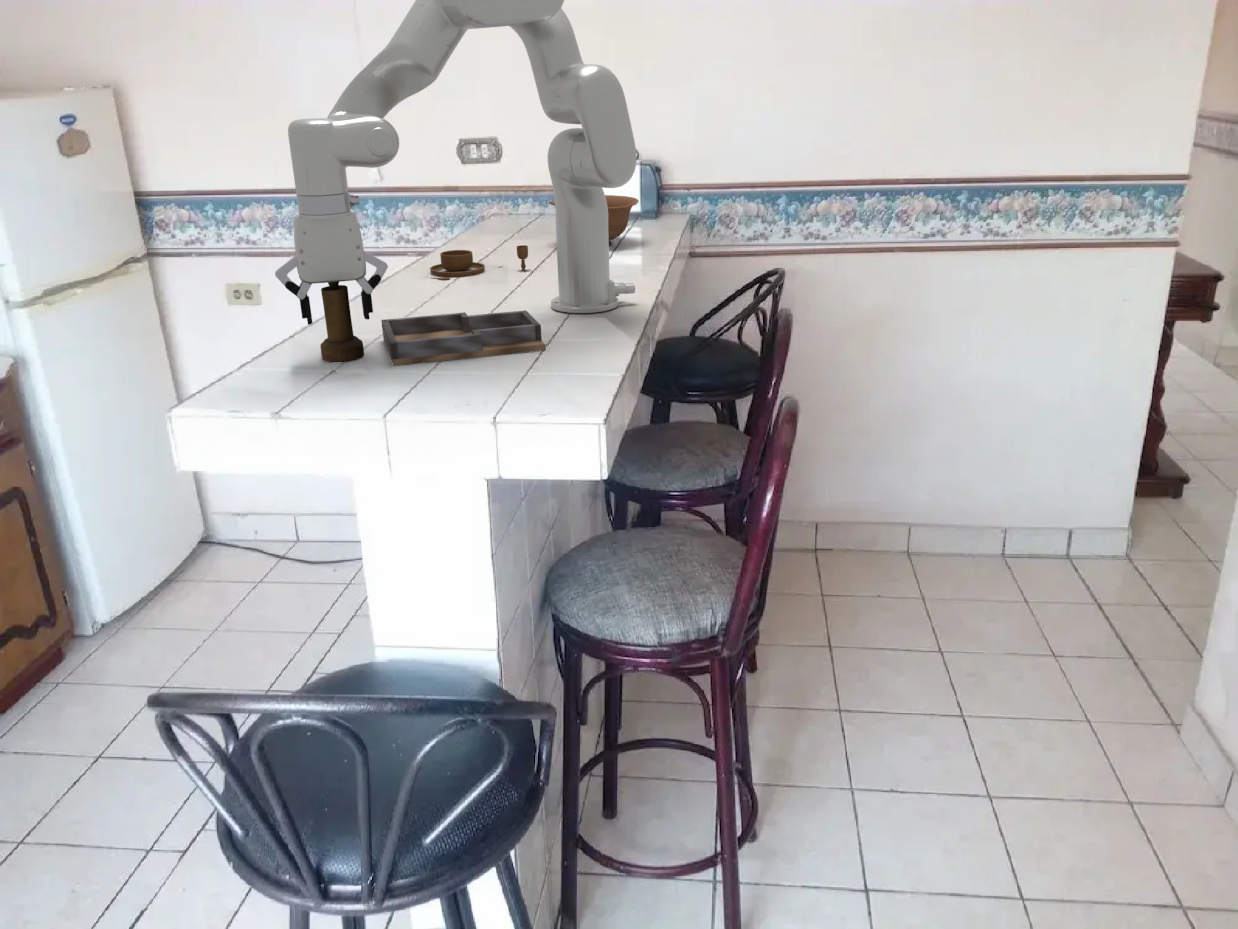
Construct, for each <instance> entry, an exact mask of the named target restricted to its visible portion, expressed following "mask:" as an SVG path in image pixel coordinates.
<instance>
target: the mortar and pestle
mask: <svg viewBox="0 0 1238 929" xmlns="http://www.w3.org/2000/svg"><path fill="white" fill-rule="evenodd" d="M327 284H328V285H327V286H323V287H321V289H320V291H321V297H322V305H323V310H324V311H323V313H324V318H325V325H326V326H325V327H326V334H327V338H324V340H323V342H321V344H320V355H321V360H323V361H324V362H327V363H333V362H341V363H349V362H354V361H358V360H360V359H362V358H363V357H364V356H365V349H364V342H363V340H362V339H360V338H359V337H357V336H356V335H354V329H353V322H352V316H351V307H350V299H349V289H348V288H349V287H348V286H347V285H345V284H340V282H329V283H327Z"/></svg>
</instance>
